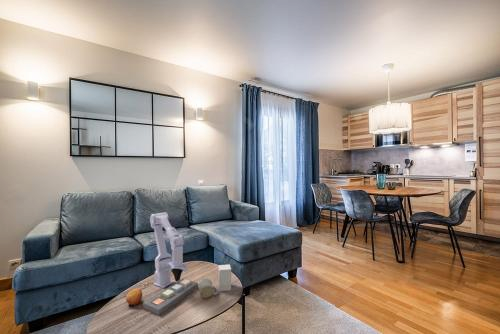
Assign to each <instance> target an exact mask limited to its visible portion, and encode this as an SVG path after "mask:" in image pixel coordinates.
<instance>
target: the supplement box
mask: <svg viewBox="0 0 500 334" xmlns="http://www.w3.org/2000/svg"><path fill="white" fill-rule="evenodd" d="M217 280H218V283H217V284H218V292H228V291H232V267H231V264H230V263H229V264H228V263H227V264H219V265H218V279H217Z"/></svg>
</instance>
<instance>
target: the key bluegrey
mask: <svg viewBox="0 0 500 334" xmlns="http://www.w3.org/2000/svg"><path fill="white" fill-rule="evenodd" d="M182 289H183V286H182V285H179V284H176V285H175V286H173V287H171V290H172V291H174V292H176V293H178V292H179V291H181V290H182Z"/></svg>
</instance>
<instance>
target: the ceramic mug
mask: <svg viewBox="0 0 500 334" xmlns="http://www.w3.org/2000/svg"><path fill="white" fill-rule="evenodd" d="M198 289H199V293H200V295H201V297H202V298H204V299H208V298H211V297H212V295H214V296H216V295H218V294H219V288H217V287H215V286H213V282H212V281H211V279H209V278H203V279H202V280H201V281H200V282H199V283H198Z"/></svg>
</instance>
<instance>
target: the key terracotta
mask: <svg viewBox="0 0 500 334" xmlns="http://www.w3.org/2000/svg"><path fill="white" fill-rule="evenodd" d="M164 301H165V300H163V299H160V298H158V299H156V300H155V301H153V302H152V303H153V304H155V305H157V306H158V305H159V304H161V303H162V302H164Z"/></svg>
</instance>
